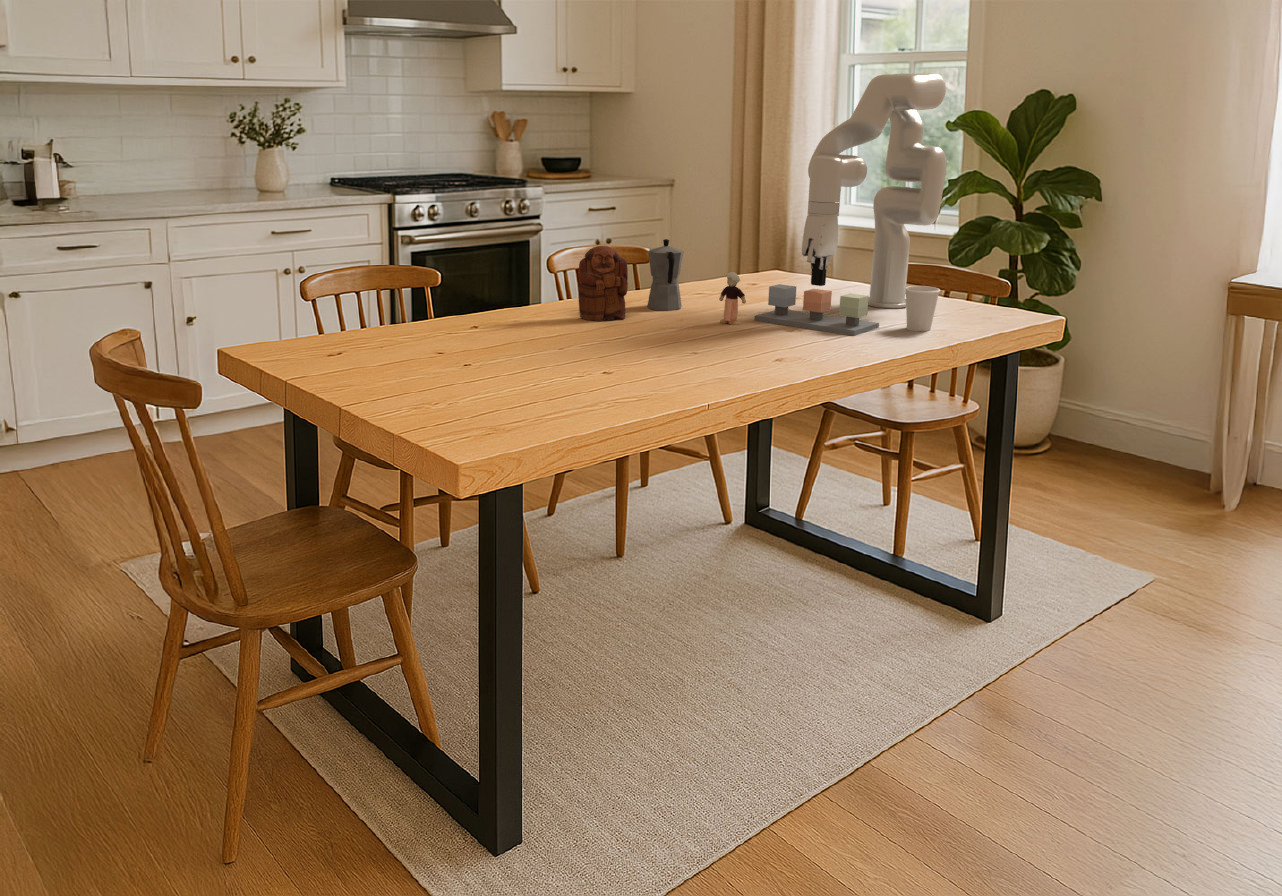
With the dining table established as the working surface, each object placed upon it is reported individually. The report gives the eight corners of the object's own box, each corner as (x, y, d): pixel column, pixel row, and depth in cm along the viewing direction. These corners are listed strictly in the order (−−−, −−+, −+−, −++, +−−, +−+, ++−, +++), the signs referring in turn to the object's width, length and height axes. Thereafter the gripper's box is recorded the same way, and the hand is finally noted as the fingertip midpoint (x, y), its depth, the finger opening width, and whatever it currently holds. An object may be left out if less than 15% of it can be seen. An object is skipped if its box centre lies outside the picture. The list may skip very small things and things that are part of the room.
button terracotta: (812, 307, 273) (813, 288, 272) (830, 309, 270) (831, 291, 269) (802, 310, 269) (804, 291, 268) (820, 312, 266) (822, 293, 265)
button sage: (848, 312, 267) (850, 293, 266) (867, 315, 264) (868, 295, 263) (838, 315, 264) (840, 296, 262) (857, 318, 261) (859, 298, 259)
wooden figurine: (583, 322, 268) (583, 248, 262) (577, 317, 273) (577, 245, 268) (629, 320, 271) (630, 247, 266) (622, 315, 277) (623, 244, 271)
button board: (780, 313, 284) (781, 300, 283) (878, 327, 268) (880, 314, 267) (754, 320, 274) (754, 306, 273) (854, 335, 258) (855, 321, 257)
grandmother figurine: (713, 322, 270) (715, 271, 266) (719, 320, 273) (722, 269, 269) (742, 326, 266) (744, 274, 262) (748, 323, 269) (750, 272, 266)
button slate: (778, 302, 279) (779, 284, 277) (795, 304, 276) (796, 286, 275) (768, 305, 275) (769, 286, 274) (785, 307, 272) (786, 288, 271)
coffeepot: (642, 303, 294) (644, 236, 288) (677, 303, 295) (679, 236, 290) (652, 314, 279) (654, 243, 274) (688, 313, 281) (690, 243, 275)
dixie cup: (937, 333, 263) (941, 292, 259) (901, 331, 264) (905, 290, 261) (935, 326, 270) (939, 286, 267) (900, 324, 272) (904, 284, 269)
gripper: (824, 206, 270) (819, 280, 276) (794, 209, 259) (789, 286, 264) (851, 208, 266) (845, 283, 271) (822, 212, 254) (816, 290, 260)
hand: (818, 284), depth 268 cm, fingers closed
